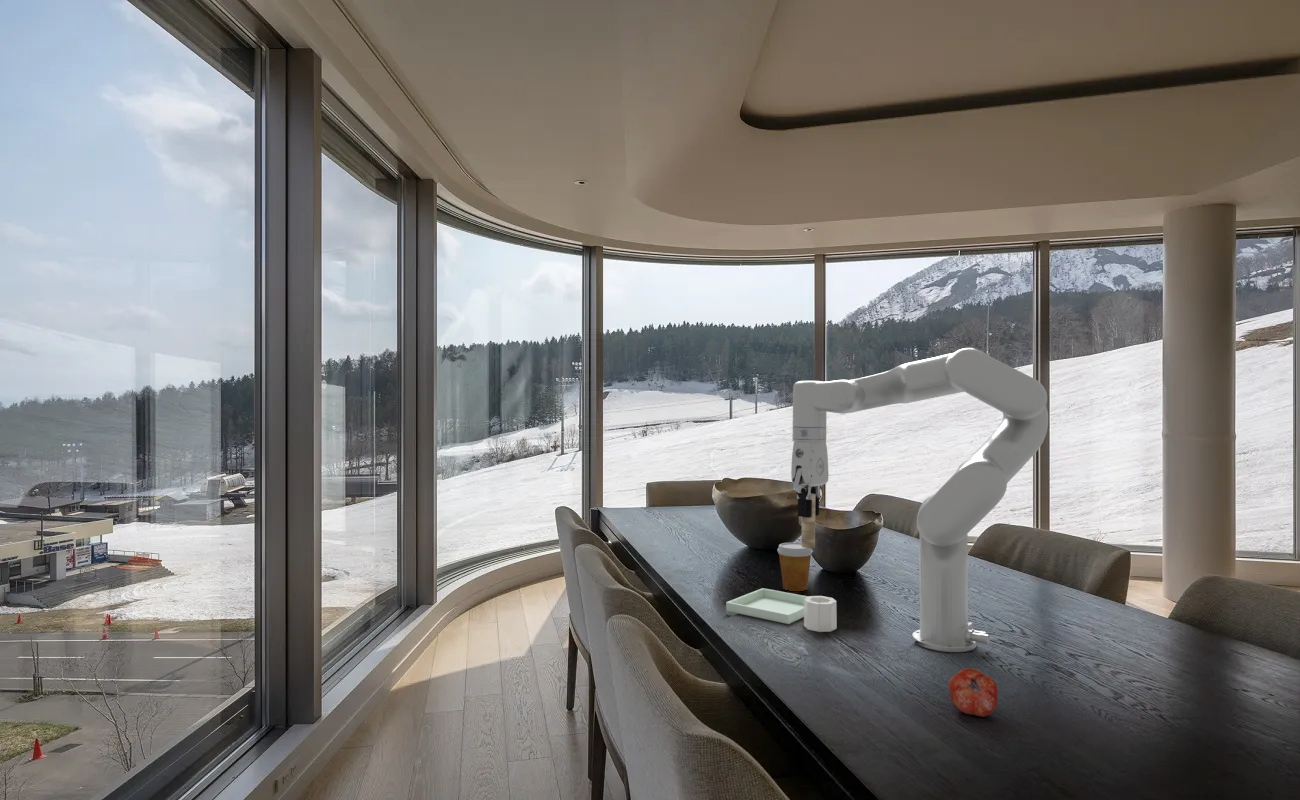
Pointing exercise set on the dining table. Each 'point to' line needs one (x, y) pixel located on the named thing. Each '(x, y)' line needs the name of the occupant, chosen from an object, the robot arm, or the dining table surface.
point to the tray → (768, 605)
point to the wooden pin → (809, 527)
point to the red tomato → (973, 692)
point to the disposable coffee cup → (794, 565)
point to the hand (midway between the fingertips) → (808, 515)
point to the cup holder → (820, 613)
